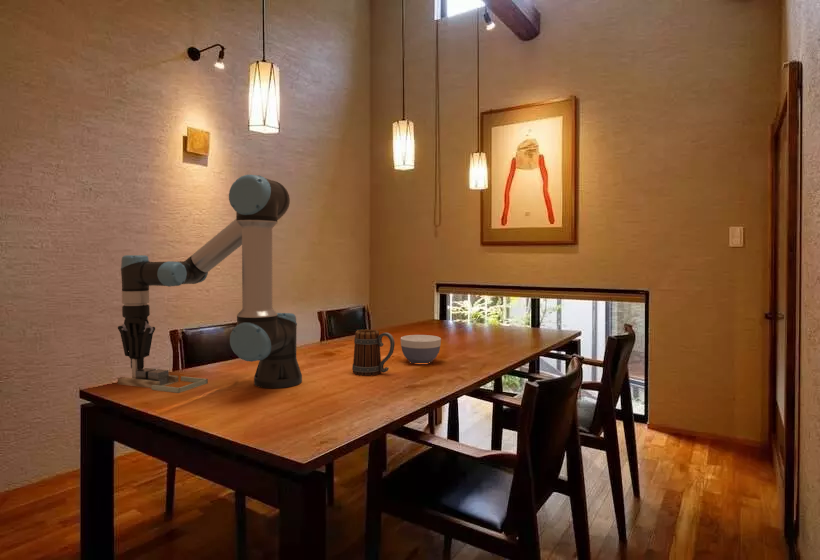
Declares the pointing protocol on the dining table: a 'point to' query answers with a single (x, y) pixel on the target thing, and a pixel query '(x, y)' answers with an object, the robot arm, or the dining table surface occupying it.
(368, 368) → the mug
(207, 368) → the dining table surface
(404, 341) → the bowl
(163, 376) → the chip
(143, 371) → the chip
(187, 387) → the grey rectangular frame
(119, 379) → the slot board
